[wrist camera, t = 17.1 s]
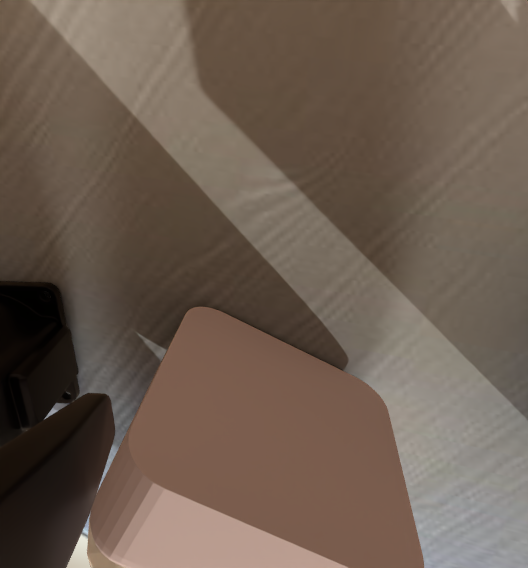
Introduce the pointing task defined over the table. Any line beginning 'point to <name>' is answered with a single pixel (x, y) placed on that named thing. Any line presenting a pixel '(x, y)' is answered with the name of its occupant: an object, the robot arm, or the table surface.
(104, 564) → the perfume bottle
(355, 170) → the table surface
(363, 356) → the table surface
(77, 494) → the robot arm
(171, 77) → the table surface
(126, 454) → the electronic device
